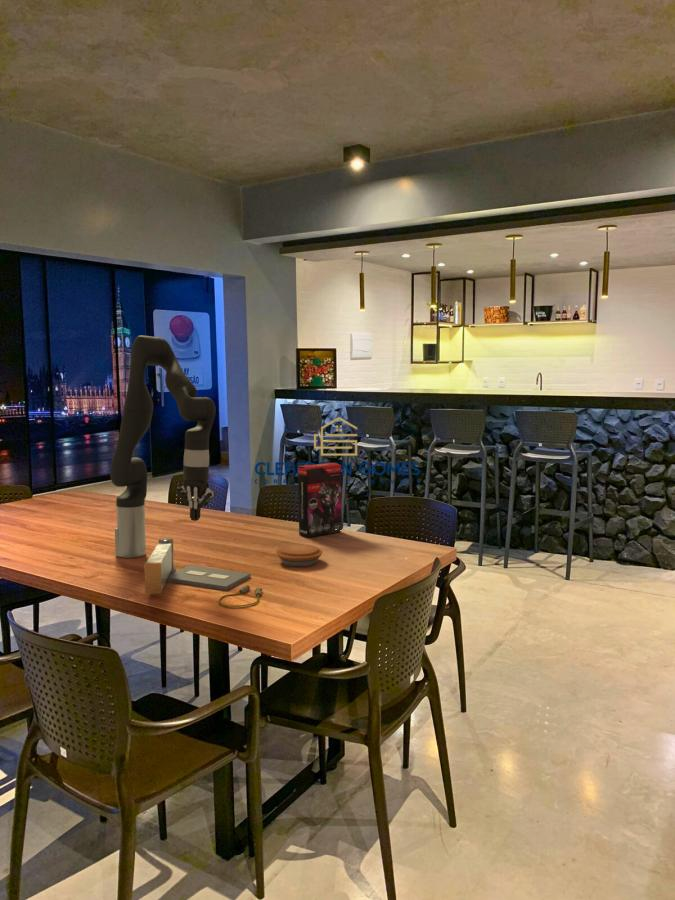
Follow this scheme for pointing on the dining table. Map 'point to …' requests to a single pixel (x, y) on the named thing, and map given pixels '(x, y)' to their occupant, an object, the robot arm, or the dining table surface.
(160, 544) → the grey rectangular block
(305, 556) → the pie
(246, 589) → the extension cord
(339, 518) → the graphics card box
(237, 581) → the panel
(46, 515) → the dining table surface
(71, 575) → the dining table surface
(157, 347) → the robot arm
